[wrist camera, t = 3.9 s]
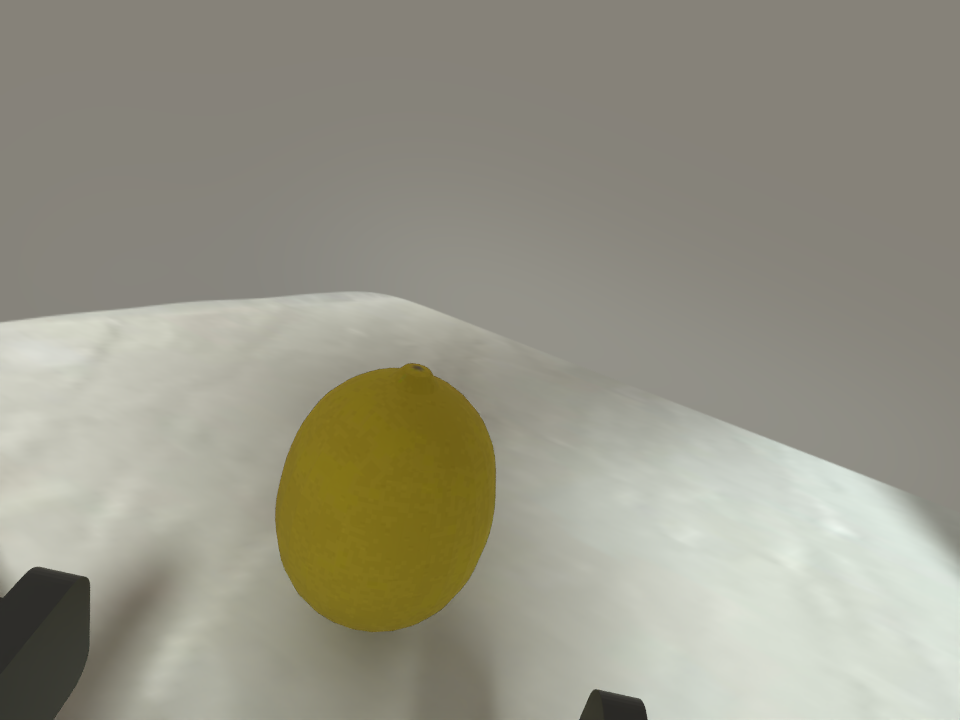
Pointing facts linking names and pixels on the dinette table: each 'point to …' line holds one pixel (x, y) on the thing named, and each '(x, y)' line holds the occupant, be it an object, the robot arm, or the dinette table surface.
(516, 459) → the dinette table surface
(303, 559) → the lemon
